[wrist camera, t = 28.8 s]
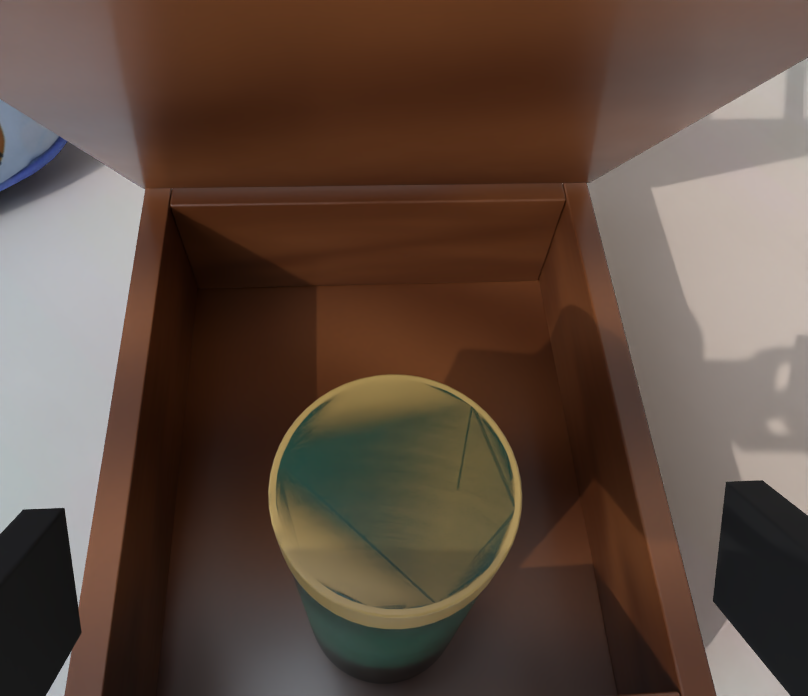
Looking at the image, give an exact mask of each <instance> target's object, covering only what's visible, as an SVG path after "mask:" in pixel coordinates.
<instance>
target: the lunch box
mask: <svg viewBox="0 0 808 696" xmlns="http://www.w3.org/2000/svg"><path fill="white" fill-rule="evenodd" d="M66 143H67V141H66V140H65V139H63V138H61V137H60V136H58V135H57V134H55V133H53V132H52V131H50V130H49V129H47V128H45V127H44V126H42V125H41V124H39V123H37V122H36V121H34V120H33V119H31V118H29V117H28V116H26V115H25V114H23V113H21V112H20V111H18V110H17V109H15V108H13V107H12V106H10V105H9V104H7V103H5V102H4V101H2V100H1V99H0V191H2V190H4V189H6V188H8V187H10V186H12V185H14V184H16V183H18V182H19V181H21V180H23V179H25V178H27V177H29V176H31V175H33V174H34V173H35V172H37V171H38V170H40V169H41V168H42V167H44V166H45V165H46V164H47V163H49V162H50V161H51V160H53V159H54V157H55V156H56V155H57V154H58V153H59V152H60V151H61V149H62V148H63V147H64V146H65V144H66Z"/></svg>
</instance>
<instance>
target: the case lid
mask: <svg viewBox="0 0 808 696" xmlns="http://www.w3.org/2000/svg"><path fill="white" fill-rule="evenodd" d="M806 58H808V0H0V99H1V100H2V101H4V102H5V103H7V104H9V105H10V106H12V107H13V108H15V109H17V110H18V111H20V112H21V113H23V114H25V115H26V116H28V117H29V118H31V119H33V120H34V121H36V122H37V123H39V124H41V125H42V126H44V127H45V128H47V129H49V130H50V131H52V132H53V133H55V134H57V135H58V136H60V137H61V138H63V139H65V140H66V141H68V142H69V143H71V144H73V145H74V146H76V147H77V148H79V149H81V150H82V151H84V152H85V153H87V154H89V155H90V156H92V157H93V158H95V159H97V160H98V161H100V162H101V163H103V164H105V165H106V166H108V167H109V168H111V169H113V170H114V171H116V172H117V173H119V174H121V175H122V176H124V177H125V178H127V179H129V180H130V181H132V182H133V183H135V184H137V185H138V186H140V187H141V188H143V189H156V188H231V187H306V186H380V185H455V184H529V183H590V182H592V181H593V180H595V179H597V178H599V177H600V176H602V175H604V174H606V173H607V172H609V171H611V170H613V169H614V168H616V167H618V166H620V165H621V164H623V163H625V162H627V161H628V160H630V159H632V158H634V157H635V156H637V155H639V154H640V153H642V152H644V151H646V150H647V149H649V148H651V147H653V146H654V145H656V144H658V143H660V142H661V141H663V140H665V139H667V138H668V137H670V136H672V135H674V134H675V133H677V132H679V131H681V130H682V129H684V128H686V127H688V126H689V125H691V124H693V123H694V122H696V121H698V120H700V119H701V118H703V117H705V116H707V115H708V114H710V113H712V112H714V111H715V110H717V109H719V108H721V107H722V106H724V105H726V104H728V103H729V102H731V101H733V100H735V99H736V98H738V97H740V96H742V95H743V94H745V93H747V92H749V91H750V90H752V89H754V88H755V87H757V86H759V85H761V84H762V83H764V82H766V81H768V80H769V79H771V78H773V77H775V76H776V75H778V74H780V73H782V72H783V71H785V70H787V69H789V68H790V67H792V66H794V65H796V64H797V63H799V62H801V61H803V60H804V59H806Z"/></svg>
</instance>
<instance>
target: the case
mask: <svg viewBox="0 0 808 696" xmlns="http://www.w3.org/2000/svg"><path fill="white" fill-rule="evenodd" d="M387 374H400V375H411V376H418V377H423V378H427V379H431V380H434V381H437V382H440V383H442V384H445V385H447V386H450V387H451V388H453V389H455V390H457V391H459V392H461V393H463V394H464V395H466V396H467V397H468V398H470V399H471V400H473V401H474V402H475V403H477V404H478V405H479V406H480V407H481V408H482V409H483V410H484V411H486V412H487V414H488V415H489V416H490V417H491V418H492V419H493V420H494V421H495V423H496V424H497V425H498V427H499V428H500V430H501V431H502V432H503V434H504V435H505V437H506V439H507V441H508V443H509V445H510V447H511V449H512V451H513V453H514V456H515V459H516V462H517V465H518V469H519V473H520V478H521V486H522V511H521V517H520V522H519V527H518V531H517V533H516V536H515V539H514V542H513V545H512V547H511V549H510V551H509V552H508V554H507V556H506V558H505V560H504V562H503V563H502V565H501V566H500V568H499V569H498V571H497V572H496V574H495V575H494V577H493V578H492V580H491V581H490V582H489V584H488V585H487V586H486V588H485V589H484V590H483V591H482V592H481V593H480V595H479V596H478V598H477V600H476V601H475V603H474V604H473V606H472V608H471V609H470V611H469V612H468V614H467V616H466V617H465V619H464V620H463V622H462V624H461V625H460V627H459V628H458V630H457V632H456V633H455V635H454V636H453V638H452V640H451V641H450V643H449V645H448V646H447V648H446V649H445V651H444V652H443V653H442V655H441V656H440V657H439V658H438V659H437V661H436V662H435V663H434V664H433V665H431V666H430V667H429V668H428V669H427V670H425V671H424V672H422V673H420V674H419V675H417V676H415V677H413V678H410V679H408V680H405V681H401V682H397V683H390V684H376V683H369V682H365V681H362V680H359V679H356V678H354V677H352V676H350V675H348V674H346V673H345V672H343V671H341V670H340V669H339V668H338V667H336V666H335V665H334V664H333V663H332V662H331V661H330V660H329V659H328V658H327V656H326V655H325V654H324V653H323V651H322V649H321V648H320V646H319V645H318V642H317V640H316V638H315V636H314V633H313V631H312V628H311V625H310V622H309V619H308V617H307V614H306V611H305V608H304V605H303V603H302V600H301V597H300V594H299V592H298V589H297V586H296V583H295V580H294V578H293V575H292V572H291V571H290V569H289V567H288V565H287V563H286V561H285V559H284V557H283V555H282V552H281V549H280V547H279V544H278V541H277V539H276V535H275V532H274V529H273V526H272V523H271V517H270V511H269V497H268V489H269V480H270V473H271V469H272V465H273V461H274V458H275V455H276V453H277V450H278V448H279V445H280V443H281V442H282V440H283V438H284V436H285V434H286V432H287V431H288V430H289V428H290V427H291V425H292V424H293V423H294V421H295V420H296V419H297V418H298V417H299V416H300V415H301V414H302V413H303V411H304V410H305V409H306V408H307V407H309V406H310V405H311V404H312V403H314V402H315V401H316V400H317V399H318V398H320V397H321V396H323V395H325V394H326V393H328V392H329V391H331V390H333V389H335V388H337V387H339V386H341V385H343V384H346V383H349V382H352V381H354V380H357V379H361V378H366V377H370V376H376V375H387ZM78 610H79V617H80V624H81V631H82V633H81V635H80V637H79V638H78V640H77V642H76V644H75V645H74V647H73V649H72V652H71V658H70V665H69V671H68V677H67V683H66V690H65V696H716V692H715V688H714V684H713V680H712V676H711V672H710V668H709V664H708V660H707V656H706V652H705V648H704V644H703V640H702V637H701V633H700V629H699V625H698V621H697V617H696V613H695V609H694V605H693V601H692V597H691V593H690V589H689V585H688V581H687V577H686V573H685V569H684V565H683V561H682V557H681V553H680V550H679V546H678V542H677V538H676V534H675V530H674V526H673V522H672V518H671V514H670V510H669V506H668V502H667V498H666V494H665V490H664V486H663V482H662V478H661V474H660V470H659V467H658V463H657V459H656V455H655V451H654V447H653V443H652V439H651V435H650V431H649V427H648V423H647V419H646V415H645V411H644V407H643V403H642V399H641V395H640V391H639V387H638V383H637V380H636V376H635V372H634V368H633V364H632V360H631V356H630V352H629V348H628V344H627V340H626V336H625V332H624V328H623V324H622V320H621V316H620V312H619V308H618V304H617V300H616V297H615V293H614V289H613V285H612V281H611V277H610V273H609V269H608V265H607V261H606V257H605V253H604V249H603V245H602V241H601V237H600V233H599V229H598V225H597V221H596V217H595V214H594V210H593V206H592V202H591V198H590V194H589V190H588V186H587V183H563V184H562V183H529V184H455V185H380V186H306V187H231V188H156V189H145V195H144V201H143V207H142V214H141V220H140V226H139V233H138V239H137V245H136V251H135V258H134V264H133V270H132V276H131V283H130V289H129V295H128V301H127V308H126V314H125V320H124V326H123V333H122V339H121V345H120V352H119V358H118V364H117V370H116V377H115V383H114V389H113V395H112V402H111V408H110V414H109V420H108V427H107V433H106V439H105V445H104V452H103V458H102V464H101V470H100V477H99V483H98V489H97V496H96V502H95V508H94V514H93V521H92V527H91V533H90V539H89V546H88V552H87V558H86V564H85V571H84V577H83V583H82V589H81V596H80V602H79V608H78Z"/></svg>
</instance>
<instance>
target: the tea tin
mask: <svg viewBox="0 0 808 696" xmlns="http://www.w3.org/2000/svg"><path fill="white" fill-rule="evenodd" d="M268 497H269V511H270V517H271V523H272V526H273V529H274V532H275V535H276V539H277V541H278V544H279V547H280V549H281V552H282V555H283V557H284V559H285V561H286V563H287V565H288V567H289V569H290V571H291V572H292V575H293V578H294V580H295V583H296V586H297V589H298V592H299V594H300V597H301V600H302V603H303V605H304V608H305V611H306V614H307V617H308V619H309V622H310V625H311V628H312V631H313V633H314V636H315V638H316V640H317V642H318V645H319V646H320V648H321V649H322V651H323V653H324V654H325V655H326V656H327V658H328V659H329V660H330V661H331V662H332V663H333V664H334V665H335V666H336V667H338V668H339V669H340V670H341V671H343V672H345V673H346V674H348V675H350V676H352V677H354V678H356V679H359V680H362V681H365V682H369V683H376V684H390V683H397V682H401V681H405V680H408V679H410V678H413V677H415V676H417V675H419V674H420V673H422V672H424V671H425V670H427V669H428V668H429V667H430V666H431V665H433V664H434V663H435V662H436V661H437V659H438V658H439V657H440V656H441V655H442V653H443V652H444V651H445V649H446V648H447V646H448V645H449V643H450V641H451V640H452V638H453V636H454V635H455V633H456V632H457V630H458V628H459V627H460V625H461V624H462V622H463V620H464V619H465V617H466V616H467V614H468V612H469V611H470V609H471V608H472V606H473V604H474V603H475V601H476V600H477V598H478V596H479V595H480V593H481V592H482V591H483V590H484V589H485V588H486V586H487V585H488V584H489V582H490V581H491V580H492V578H493V577H494V575H495V574H496V572H497V571H498V569H499V568H500V566H501V565H502V563H503V562H504V560H505V558H506V556H507V554H508V552H509V551H510V549H511V547H512V545H513V542H514V539H515V536H516V533H517V531H518V527H519V522H520V517H521V511H522V486H521V478H520V473H519V469H518V465H517V462H516V459H515V456H514V453H513V451H512V449H511V447H510V445H509V443H508V441H507V439H506V437H505V435H504V434H503V432H502V431H501V430H500V428H499V427H498V425H497V424H496V423H495V421H494V420H493V419H492V418H491V417H490V416H489V415H488V414H487V412H486V411H484V410H483V409H482V408H481V407H480V406H479V405H478V404H477V403H475V402H474V401H473V400H471V399H470V398H468V397H467V396H466V395H464V394H463V393H461V392H459V391H457V390H455V389H453V388H451V387H450V386H447V385H445V384H442V383H440V382H437V381H434V380H431V379H427V378H423V377H418V376H411V375H400V374H387V375H376V376H370V377H366V378H361V379H357V380H354V381H352V382H349V383H346V384H343V385H341V386H339V387H337V388H335V389H333V390H331V391H329V392H328V393H326V394H325V395H323V396H321V397H320V398H318V399H317V400H316V401H315V402H314V403H312V404H311V405H310V406H309V407H307V408H306V409H305V410H304V411H303V413H302V414H301V415H300V416H299V417H298V418H297V419H296V420H295V421H294V423H293V424H292V425H291V427H290V428H289V430H288V431H287V432H286V434H285V436H284V438H283V440H282V442H281V443H280V445H279V448H278V450H277V453H276V455H275V458H274V461H273V465H272V469H271V473H270V480H269V489H268Z"/></svg>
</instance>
